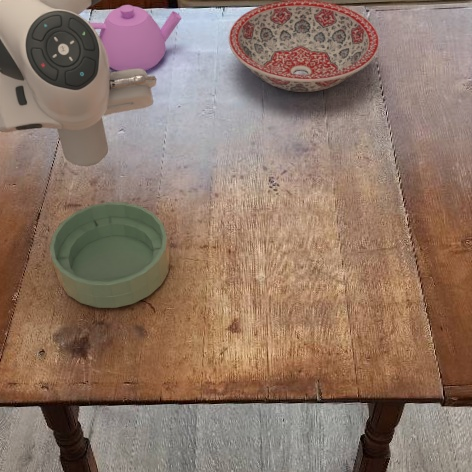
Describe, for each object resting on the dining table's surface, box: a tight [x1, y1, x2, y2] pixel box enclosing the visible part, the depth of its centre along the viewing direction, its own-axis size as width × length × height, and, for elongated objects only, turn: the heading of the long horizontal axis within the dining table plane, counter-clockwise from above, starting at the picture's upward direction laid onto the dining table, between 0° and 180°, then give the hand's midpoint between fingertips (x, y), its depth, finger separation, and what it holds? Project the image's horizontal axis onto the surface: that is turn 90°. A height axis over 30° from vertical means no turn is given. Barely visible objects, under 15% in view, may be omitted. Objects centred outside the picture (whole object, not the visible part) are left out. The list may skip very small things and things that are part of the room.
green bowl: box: [49, 201, 171, 309], centre depth 103 cm, size 17×17×6 cm
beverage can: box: [56, 117, 109, 167], centre depth 94 cm, size 6×6×12 cm
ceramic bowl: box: [228, 0, 380, 93], centre depth 135 cm, size 29×29×8 cm
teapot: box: [89, 4, 182, 72], centre depth 138 cm, size 14×20×11 cm
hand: (77, 114), depth 94 cm, fingers closed on beverage can, 6 cm apart
